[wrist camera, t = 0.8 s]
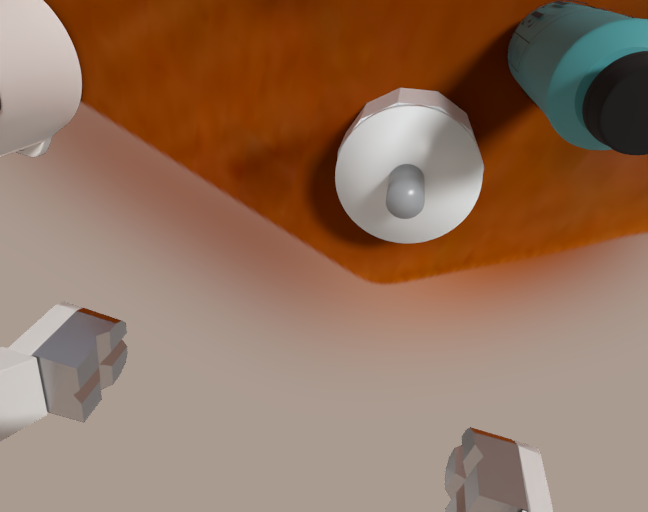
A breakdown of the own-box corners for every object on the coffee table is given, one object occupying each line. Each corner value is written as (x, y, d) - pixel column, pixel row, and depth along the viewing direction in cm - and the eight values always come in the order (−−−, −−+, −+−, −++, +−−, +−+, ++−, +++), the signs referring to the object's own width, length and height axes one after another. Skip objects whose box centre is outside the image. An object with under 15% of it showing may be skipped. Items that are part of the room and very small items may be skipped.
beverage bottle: (534, 106, 38) (619, 217, 22) (483, 44, 37) (533, 112, 20) (612, 44, 35) (782, 118, 18) (560, -27, 33) (696, -16, 17)
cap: (340, 205, 46) (322, 257, 38) (350, 82, 40) (331, 113, 32) (460, 220, 45) (468, 278, 37) (490, 96, 39) (508, 132, 30)
